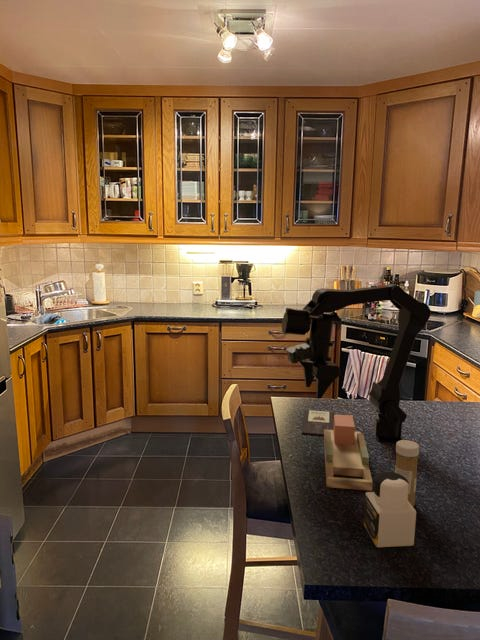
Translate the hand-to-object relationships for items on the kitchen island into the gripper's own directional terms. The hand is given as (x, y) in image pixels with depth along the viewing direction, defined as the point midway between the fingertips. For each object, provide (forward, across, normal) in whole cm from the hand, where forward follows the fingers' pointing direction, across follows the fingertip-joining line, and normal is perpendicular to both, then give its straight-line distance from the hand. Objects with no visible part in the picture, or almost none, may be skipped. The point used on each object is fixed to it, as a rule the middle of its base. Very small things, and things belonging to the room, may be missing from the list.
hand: (313, 392), depth 129 cm
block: (+11, +4, +9) cm, 15 cm away
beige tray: (+13, +12, +6) cm, 19 cm away
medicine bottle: (+14, +43, +2) cm, 45 cm away
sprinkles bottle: (+13, +33, +10) cm, 37 cm away
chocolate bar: (+14, -12, +8) cm, 20 cm away
